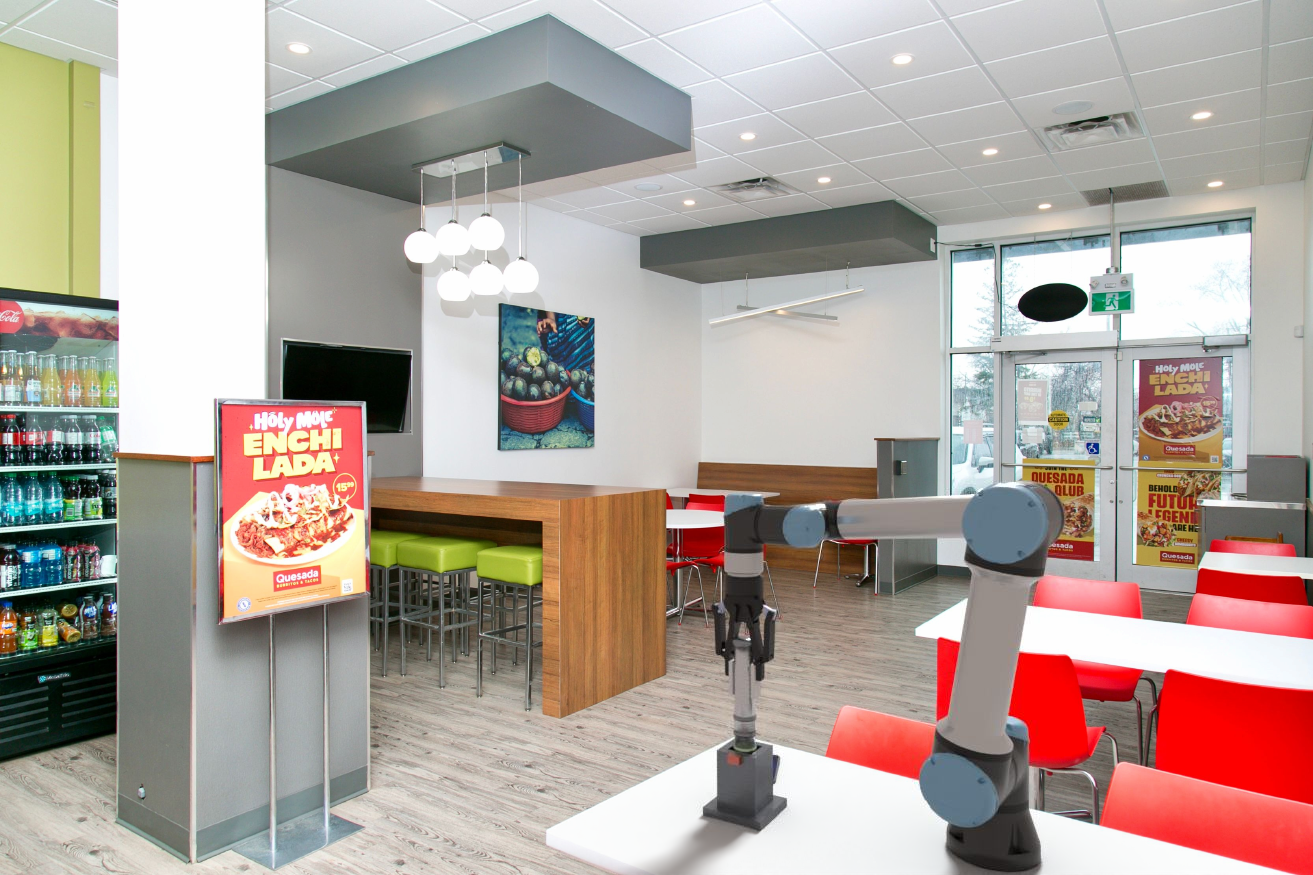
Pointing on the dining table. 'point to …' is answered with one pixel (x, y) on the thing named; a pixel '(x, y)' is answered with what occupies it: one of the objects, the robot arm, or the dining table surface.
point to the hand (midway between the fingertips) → (744, 694)
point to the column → (743, 697)
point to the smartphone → (775, 767)
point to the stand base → (745, 787)
